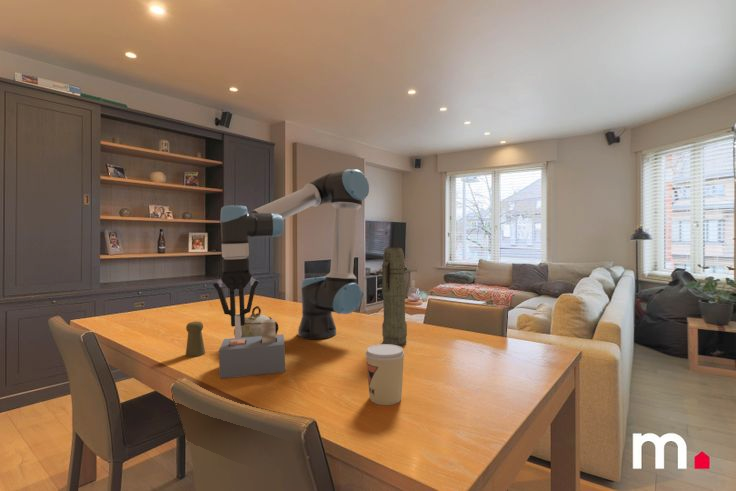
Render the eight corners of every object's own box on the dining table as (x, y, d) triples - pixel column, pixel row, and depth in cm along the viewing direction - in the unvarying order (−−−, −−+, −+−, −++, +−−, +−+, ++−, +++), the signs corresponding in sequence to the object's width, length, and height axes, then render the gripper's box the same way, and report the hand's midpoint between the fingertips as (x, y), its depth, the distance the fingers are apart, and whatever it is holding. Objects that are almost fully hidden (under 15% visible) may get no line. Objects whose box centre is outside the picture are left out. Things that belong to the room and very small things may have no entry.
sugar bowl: (292, 345, 136) (291, 304, 135) (263, 358, 123) (262, 312, 122) (251, 339, 145) (250, 300, 144) (220, 350, 131) (219, 308, 131)
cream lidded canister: (364, 391, 95) (364, 344, 95) (401, 389, 96) (400, 342, 96) (368, 407, 86) (367, 356, 86) (408, 405, 87) (407, 354, 87)
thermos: (375, 344, 135) (374, 247, 134) (391, 336, 145) (390, 246, 144) (397, 348, 131) (396, 248, 130) (412, 340, 141) (411, 246, 140)
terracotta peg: (245, 365, 115) (245, 339, 114) (244, 369, 111) (244, 342, 111) (231, 366, 114) (231, 340, 113) (230, 370, 110) (229, 343, 110)
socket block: (283, 358, 121) (283, 334, 121) (285, 371, 110) (284, 344, 110) (224, 364, 117) (224, 338, 117) (219, 378, 105) (218, 350, 105)
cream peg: (275, 344, 117) (275, 319, 116) (275, 348, 113) (275, 321, 113) (262, 345, 116) (261, 319, 115) (262, 349, 112) (261, 322, 112)
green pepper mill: (197, 357, 124) (196, 324, 124) (181, 356, 125) (180, 323, 125) (208, 351, 130) (208, 320, 130) (193, 351, 131) (192, 319, 131)
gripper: (258, 256, 117) (261, 331, 117) (214, 258, 113) (217, 335, 114) (258, 257, 109) (260, 338, 110) (210, 259, 106) (213, 342, 107)
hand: (238, 336), depth 112 cm, fingers closed
